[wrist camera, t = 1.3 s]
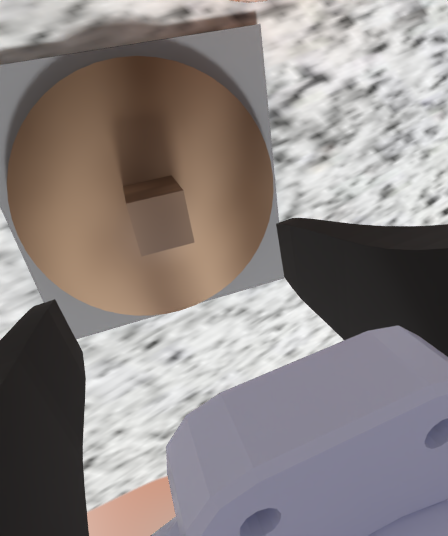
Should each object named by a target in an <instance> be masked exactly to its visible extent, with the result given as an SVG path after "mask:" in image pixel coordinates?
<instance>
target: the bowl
mask: <svg viewBox="0 0 448 536" xmlns="http://www.w3.org/2000/svg"><path fill="white" fill-rule="evenodd" d="M231 1H238V2H263V1H267V0H231Z"/></svg>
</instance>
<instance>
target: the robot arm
mask: <svg viewBox="0 0 448 536" xmlns="http://www.w3.org/2000/svg"><path fill="white" fill-rule="evenodd" d="M276 227H277V234H278V240H279V247H280V253H281V259H282V266H283V272H284V277H285V278H286V280H287V281H288V283H289V284H290V285H291V287H292V288H293V289H294V291H295V292H296V293H297V294H298V296H299V297H300V298H301V299H302V300H303V301H304V302H305V303H306V304H307V305H308V306H309V307H310V308H311V309H312V310H313V311H314V312H315V313H317V314H318V315H319V316H320V317H321V318H322V319H323V320H324V321H325V322H326V323H327V324H328V325H329V326H330V327H331V328H332V329H333V330H334V331H335V332H336V333H338V334H339V335H340V336H341V337H342V338H343V339H344V341H342V342H340V343H337V344H335V345H332V346H330V347H328V348H325V349H323V350H320V351H318V352H316V353H313V354H311V355H309V356H306V357H304V358H301V359H299V360H297V361H294V362H292V363H290V364H287V365H285V366H282V367H280V368H278V369H275V370H273V371H271V372H268V373H266V374H263V375H261V376H259V377H256V378H254V379H252V380H249V381H247V382H244V383H242V384H240V385H237V386H235V387H233V388H230V389H228V390H225V391H223V392H221V393H219V394H217V395H216V396H214V397H213V398H211V399H210V400H208V401H207V402H205V403H204V404H202V405H201V406H199V407H198V408H196V409H195V410H193V411H192V412H190V413H189V414H187V415H186V416H185V418H184V419H183V421H182V422H181V424H180V426H179V427H178V429H177V430H176V432H175V433H174V435H173V436H172V438H171V440H170V441H169V443H168V444H167V446H166V453H167V475H168V479H169V484H170V488H171V494H172V499H173V503H174V508H175V513H176V517H174V518H173V519H172V520H171V521H169V522H168V523H167V524H165V525H164V526H163V527H161V528H160V529H159V530H157V531H156V532H155V533H153V534H152V535H151V536H448V224H447V225H433V226H411V227H408V226H372V225H359V224H349V223H340V222H332V221H325V220H317V219H307V218H292V219H289V220H286V221H283V222H280V223H277V224H276ZM85 381H86V378H85V368H84V360H83V352H82V350H81V348H80V346H79V344H78V342H77V340H76V338H75V336H74V334H73V333H72V331H71V329H70V327H69V325H68V323H67V321H66V319H65V317H64V315H63V313H62V311H61V309H60V308H59V306H58V304H57V302H56V300H55V299H54V300H51V301H48V302H45V303H42V304H39V305H36V306H34V307H33V308H31V309H30V310H29V311H28V312H27V313H26V314H25V315H24V316H23V317H22V318H21V319H20V320H19V321H18V322H17V323H16V324H15V325H14V326H13V327H12V328H11V330H10V331H9V332H8V333H7V334H6V335H5V336H4V337H3V338H2V339H1V340H0V536H89V532H88V522H87V510H86V500H85V487H84V473H83V426H84V406H85Z"/></svg>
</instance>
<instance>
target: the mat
mask: <svg viewBox="0 0 448 536" xmlns="http://www.w3.org/2000/svg"><path fill="white" fill-rule="evenodd" d="M128 56H147V57H158V58H163V59H168V60H173V61H177V62H179V63H182V64H185V65H188V66H190V67H193V68H195V69H197V70H199V71H201V72H203V73H205V74H207V75H208V76H210V77H212V78H213V79H215V80H216V81H217V82H219V83H220V84H222V85H223V86H224V87H226V88H227V89H228V90H229V91H230V92H231V93H232V94H233V95H234V96H235V97H236V98H237V99H238V100H239V101H240V102H241V103H242V105H243V106H244V107H245V108H246V110H247V111H248V112H249V113H250V115H251V116H252V118H253V120H254V121H255V123H256V125H257V126H258V128H259V130H260V132H261V134H262V137H263V139H264V141H265V143H266V147H267V150H268V153H269V157H270V160H271V167H272V173H273V190H274V192H273V203H272V210H271V215H270V219H269V223H268V226H267V229H266V232H265V235H264V237H263V239H262V241H261V243H260V246H259V248H258V249H257V251H256V253H255V254H254V256H253V257H252V259H251V261H250V262H249V263H248V264H247V266H246V267H245V268H244V269H243V271H242V272H241V273H240V274H239V275H238V276H237V277H236V278H235V279H234V280H233V281H232V282H231V283H230V284H228V285H227V286H226V287H225V288H223V289H222V290H221V291H220V292H218V293H216V294H215V295H213V296H212V297H210V298H208V299H207V300H205V301H208V300H212V299H215V298H218V297H222V296H225V295H229V294H232V293H235V292H239V291H242V290H246V289H249V288H253V287H256V286H259V285H263V284H266V283H270V282H273V281H276V280H280V279H283V278H284V272H283V266H282V259H281V253H280V247H279V240H278V234H277V227H276V224H277V223H279V217H278V207H277V196H276V186H275V175H274V164H273V154H272V143H271V132H270V122H269V111H268V100H267V90H266V79H265V69H264V58H263V47H262V37H261V26H260V24H257V25H251V26H244V27H238V28H232V29H225V30H219V31H213V32H206V33H200V34H194V35H187V36H181V37H174V38H168V39H162V40H155V41H149V42H143V43H136V44H130V45H124V46H117V47H111V48H104V49H98V50H92V51H85V52H79V53H73V54H66V55H60V56H53V57H47V58H41V59H34V60H28V61H22V62H15V63H9V64H3V65H0V207H1V210H2V212H3V214H4V216H5V218H6V221H7V223H8V225H9V227H10V229H11V232H12V234H13V236H14V238H15V240H16V242H17V245H18V247H19V249H20V251H21V253H22V256H23V258H24V260H25V262H26V264H27V267H28V269H29V271H30V273H31V275H32V278H33V280H34V282H35V284H36V286H37V288H38V291H39V293H40V295H41V297H42V299H43V302H44V303H45V302H48V301H51V300H54V299H55V300H56V302H57V304H58V306H59V308H60V309H61V311H62V313H63V315H64V317H65V319H66V321H67V323H68V325H69V327H70V329H71V331H72V333H73V334H74V336H75V338H76V339H79V338H82V337H86V336H89V335H92V334H96V333H99V332H103V331H106V330H109V329H113V328H116V327H120V326H123V325H126V324H130V323H133V322H137V321H140V320H143V319H147V318H150V317H154V316H157V315H149V316H135V315H125V314H118V313H114V312H109V311H105V310H102V309H99V308H96V307H93V306H90V305H88V304H86V303H84V302H82V301H80V300H78V299H76V298H74V297H73V296H71V295H69V294H68V293H66V292H65V291H63V290H62V289H60V288H59V287H58V286H57V285H56V284H54V283H53V282H52V281H51V280H49V279H48V278H47V277H46V275H45V274H44V273H43V272H42V271H41V270H40V269H39V268H38V267H37V266H36V264H35V263H34V262H33V260H32V259H31V258H30V256H29V255H28V253H27V252H26V250H25V248H24V246H23V244H22V243H21V241H20V239H19V237H18V235H17V232H16V229H15V226H14V224H13V221H12V218H11V213H10V208H9V204H8V194H7V173H8V163H9V159H10V155H11V150H12V146H13V143H14V141H15V138H16V136H17V133H18V131H19V129H20V126H21V125H22V123H23V121H24V120H25V118H26V117H27V115H28V113H29V112H30V110H31V109H32V107H33V106H34V105H35V104H36V103H37V102H38V100H39V99H40V98H41V97H42V96H43V95H44V94H45V93H46V92H47V91H48V90H49V89H51V88H52V87H53V86H54V85H55V84H56V83H58V82H59V81H60V80H62V79H63V78H65V77H67V76H68V75H70V74H72V73H73V72H75V71H77V70H79V69H81V68H84V67H86V66H89V65H91V64H93V63H96V62H100V61H104V60H108V59H112V58H117V57H128ZM205 301H203V302H205ZM200 303H201V302H200ZM159 315H161V314H159Z"/></svg>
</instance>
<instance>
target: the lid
mask: <svg viewBox="0 0 448 536" xmlns="http://www.w3.org/2000/svg"><path fill="white" fill-rule="evenodd" d="M273 192H274V190H273V173H272V167H271V160H270V157H269V153H268V150H267V147H266V143H265V141H264V139H263V137H262V134H261V132H260V130H259V128H258V126H257V125H256V123H255V121H254V120H253V118H252V116H251V115H250V113H249V112H248V111H247V110H246V108H245V107H244V106H243V105H242V103H241V102H240V101H239V100H238V99H237V98H236V97H235V96H234V95H233V94H232V93H231V92H230V91H229V90H228V89H227V88H226V87H224V86H223V85H222V84H220V83H219V82H217V81H216V80H215V79H213V78H212V77H210V76H208V75H207V74H205V73H203V72H201V71H199V70H197V69H195V68H193V67H190V66H188V65H185V64H182V63H179V62H177V61H173V60H168V59H163V58H158V57H147V56H128V57H117V58H112V59H108V60H104V61H100V62H96V63H93V64H91V65H89V66H86V67H84V68H81V69H79V70H77V71H75V72H73V73H72V74H70V75H68V76H67V77H65V78H63V79H62V80H60V81H59V82H58V83H56V84H55V85H54V86H53V87H52V88H51V89H49V90H48V91H47V92H46V93H45V94H44V95H43V96H42V97H41V98H40V99H39V100H38V102H37V103H36V104H35V105H34V106H33V107H32V109H31V110H30V112H29V113H28V115H27V117H26V118H25V120H24V121H23V123H22V125H21V126H20V129H19V131H18V133H17V136H16V138H15V141H14V143H13V146H12V150H11V155H10V159H9V163H8V173H7V194H8V204H9V208H10V213H11V218H12V221H13V224H14V226H15V229H16V232H17V235H18V237H19V239H20V241H21V243H22V244H23V246H24V248H25V250H26V252H27V253H28V255H29V256H30V258H31V259H32V260H33V262H34V263H35V264H36V266H37V267H38V268H39V269H40V270H41V271H42V272H43V273H44V274H45V275H46V277H47V278H48V279H49V280H51V281H52V282H53V283H54V284H56V285H57V286H58V287H59V288H60V289H62V290H63V291H65V292H66V293H68V294H69V295H71V296H73V297H74V298H76V299H78V300H80V301H82V302H84V303H86V304H88V305H90V306H93V307H96V308H99V309H102V310H105V311H109V312H114V313H118V314H125V315H135V316H149V315H159V314H167V313H171V312H176V311H180V310H183V309H186V308H189V307H191V306H194V305H196V304H198V303H200V302H203V301H205V300H207V299H208V298H210V297H212V296H213V295H215V294H216V293H218V292H220V291H221V290H222V289H223V288H225V287H226V286H227V285H228V284H230V283H231V282H232V281H233V280H234V279H235V278H236V277H237V276H238V275H239V274H240V273H241V272H242V271H243V269H244V268H245V267H246V266H247V264H248V263H249V262H250V261H251V259H252V257H253V256H254V254H255V253H256V251H257V249H258V248H259V246H260V243H261V241H262V239H263V237H264V235H265V232H266V229H267V226H268V223H269V219H270V215H271V210H272V203H273Z"/></svg>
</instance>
